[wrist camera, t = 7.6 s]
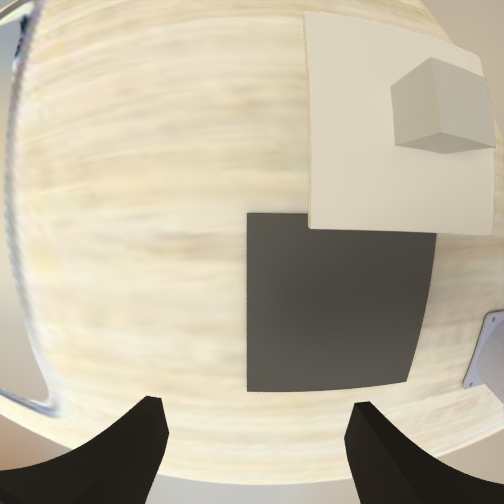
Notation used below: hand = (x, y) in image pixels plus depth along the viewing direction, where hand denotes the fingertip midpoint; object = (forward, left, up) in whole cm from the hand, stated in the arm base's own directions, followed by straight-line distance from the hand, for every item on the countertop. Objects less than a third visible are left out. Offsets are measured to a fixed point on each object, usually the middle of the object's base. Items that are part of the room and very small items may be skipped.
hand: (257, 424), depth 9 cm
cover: (-8, -12, -6) cm, 15 cm away
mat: (-6, 0, -10) cm, 11 cm away
